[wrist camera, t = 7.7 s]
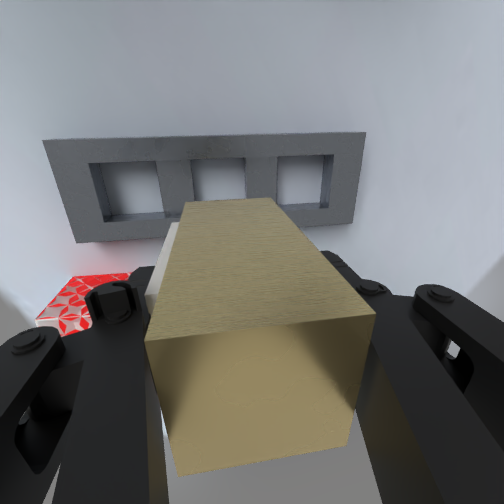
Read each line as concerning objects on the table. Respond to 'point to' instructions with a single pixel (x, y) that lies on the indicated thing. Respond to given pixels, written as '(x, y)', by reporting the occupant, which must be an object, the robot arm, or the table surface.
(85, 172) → the rail
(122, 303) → the robot arm
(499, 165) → the table surface
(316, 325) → the brass peg
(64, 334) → the red patterned cube
